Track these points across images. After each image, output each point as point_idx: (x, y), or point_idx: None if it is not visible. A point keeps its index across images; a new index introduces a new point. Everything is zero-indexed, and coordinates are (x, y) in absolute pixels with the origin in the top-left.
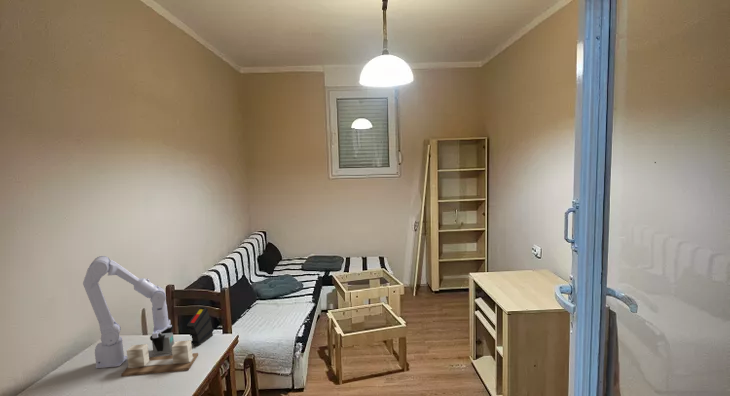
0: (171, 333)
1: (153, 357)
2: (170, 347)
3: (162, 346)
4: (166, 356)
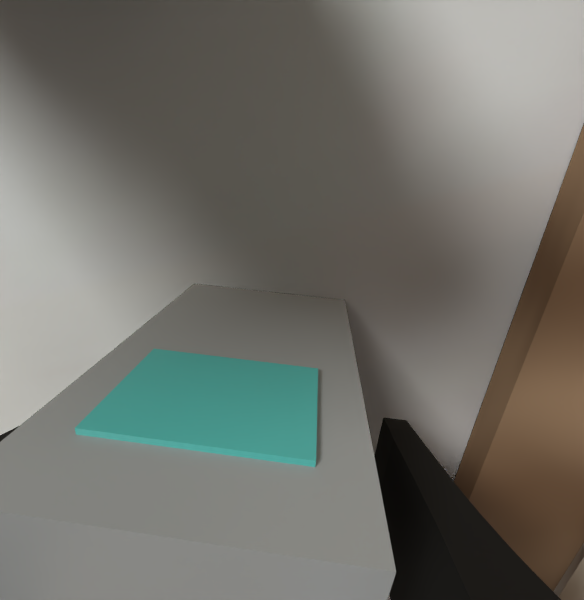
0: (14, 532)
1: (500, 474)
2: (324, 328)
3: (453, 483)
4: (568, 319)
